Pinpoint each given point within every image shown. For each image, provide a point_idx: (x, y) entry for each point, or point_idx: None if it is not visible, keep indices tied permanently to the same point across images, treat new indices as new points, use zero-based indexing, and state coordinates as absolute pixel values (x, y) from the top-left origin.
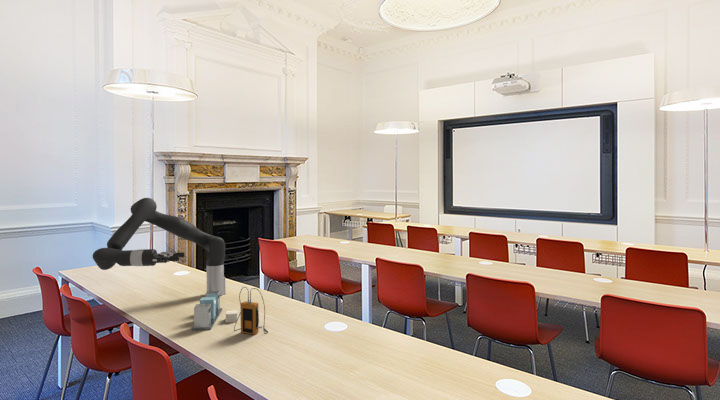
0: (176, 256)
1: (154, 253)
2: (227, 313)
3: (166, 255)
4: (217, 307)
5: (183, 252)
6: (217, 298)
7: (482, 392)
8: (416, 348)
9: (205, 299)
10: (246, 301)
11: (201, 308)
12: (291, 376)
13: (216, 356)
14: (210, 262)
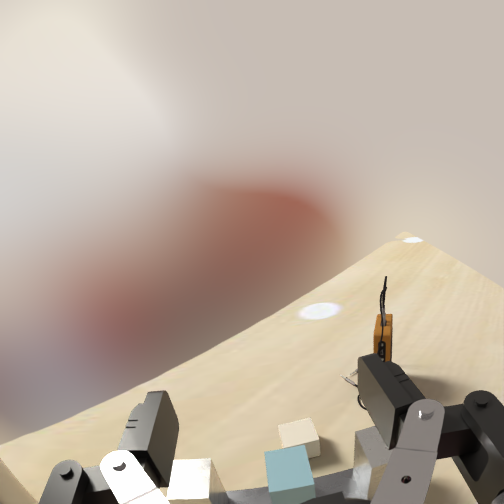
0: (382, 362)
1: None
2: (311, 437)
3: (401, 448)
4: (224, 491)
5: (151, 392)
6: (216, 472)
7: (428, 244)
8: (371, 264)
9: (301, 470)
10: (375, 330)
11: None
12: (482, 299)
13: (497, 374)
14: None
